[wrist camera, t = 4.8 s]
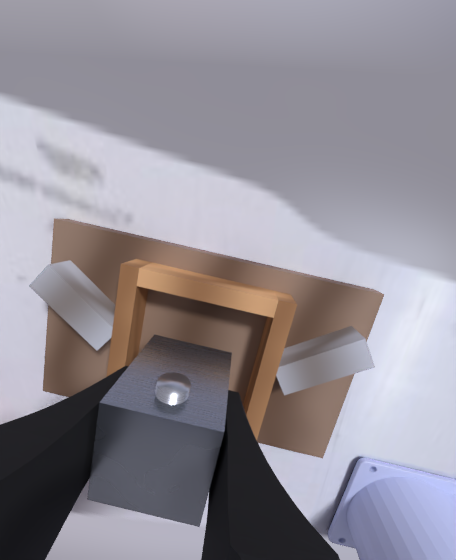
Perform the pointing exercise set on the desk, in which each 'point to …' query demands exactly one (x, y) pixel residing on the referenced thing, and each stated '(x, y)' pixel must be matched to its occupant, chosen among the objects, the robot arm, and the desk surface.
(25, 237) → the desk surface
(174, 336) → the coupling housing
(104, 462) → the block
